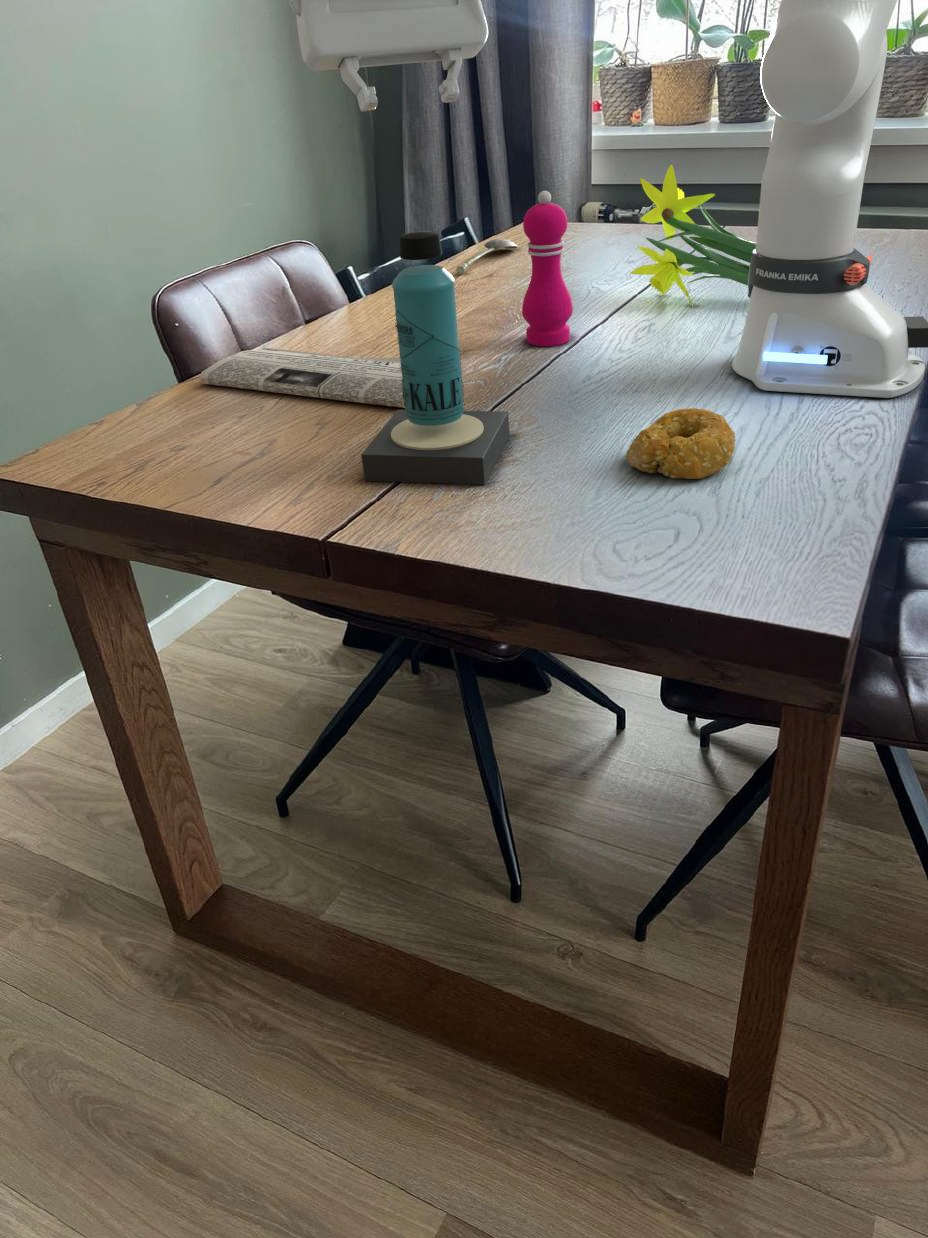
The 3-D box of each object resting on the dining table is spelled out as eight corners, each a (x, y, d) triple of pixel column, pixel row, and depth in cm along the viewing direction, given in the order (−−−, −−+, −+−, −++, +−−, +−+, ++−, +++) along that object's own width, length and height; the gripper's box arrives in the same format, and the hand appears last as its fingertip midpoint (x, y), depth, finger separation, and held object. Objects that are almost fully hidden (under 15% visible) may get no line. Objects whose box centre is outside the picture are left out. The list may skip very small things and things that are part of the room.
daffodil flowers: (810, 335, 133) (588, 255, 143) (809, 359, 147) (607, 285, 157) (866, 218, 130) (637, 145, 141) (860, 254, 144) (652, 186, 155)
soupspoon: (523, 252, 190) (494, 253, 193) (522, 234, 189) (493, 235, 192) (475, 274, 174) (444, 275, 177) (473, 255, 172) (442, 255, 175)
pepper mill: (570, 347, 133) (568, 194, 123) (519, 348, 135) (513, 196, 124) (575, 332, 139) (574, 184, 129) (527, 333, 141) (521, 187, 130)
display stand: (509, 436, 107) (508, 408, 106) (484, 485, 97) (482, 455, 95) (400, 434, 110) (397, 406, 109) (364, 480, 100) (360, 451, 98)
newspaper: (201, 386, 131) (195, 361, 129) (258, 358, 140) (253, 334, 138) (421, 413, 116) (418, 385, 114) (468, 380, 125) (466, 354, 123)
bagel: (616, 450, 102) (617, 407, 99) (717, 440, 102) (721, 397, 99) (637, 488, 93) (638, 443, 91) (747, 478, 94) (752, 432, 91)
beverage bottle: (433, 413, 106) (415, 223, 95) (479, 424, 102) (466, 227, 91) (393, 433, 102) (370, 236, 91) (440, 445, 98) (421, 241, 87)
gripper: (287, -51, 91) (325, 99, 93) (476, -58, 98) (507, 82, 101) (274, -15, 97) (310, 126, 99) (454, -24, 104) (483, 108, 106)
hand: (411, 104), depth 100 cm, fingers open, 8 cm apart
